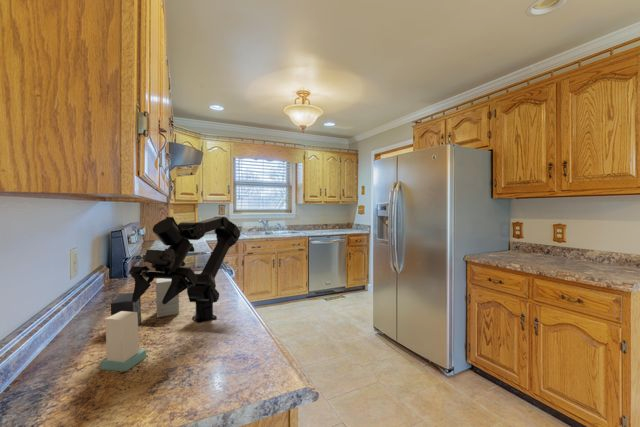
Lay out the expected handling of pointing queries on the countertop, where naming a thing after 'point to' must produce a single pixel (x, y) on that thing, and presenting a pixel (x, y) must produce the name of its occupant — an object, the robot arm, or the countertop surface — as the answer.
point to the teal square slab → (123, 365)
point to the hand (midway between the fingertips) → (148, 302)
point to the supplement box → (161, 290)
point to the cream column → (122, 336)
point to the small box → (126, 305)
